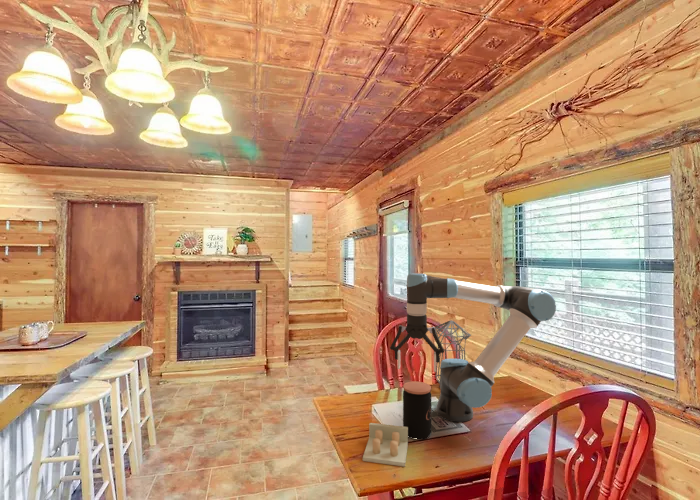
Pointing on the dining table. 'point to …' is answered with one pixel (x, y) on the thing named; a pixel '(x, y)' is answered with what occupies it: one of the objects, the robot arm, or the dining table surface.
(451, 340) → the geometric lantern
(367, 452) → the peg stand
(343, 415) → the dining table surface
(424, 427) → the coffee jar
